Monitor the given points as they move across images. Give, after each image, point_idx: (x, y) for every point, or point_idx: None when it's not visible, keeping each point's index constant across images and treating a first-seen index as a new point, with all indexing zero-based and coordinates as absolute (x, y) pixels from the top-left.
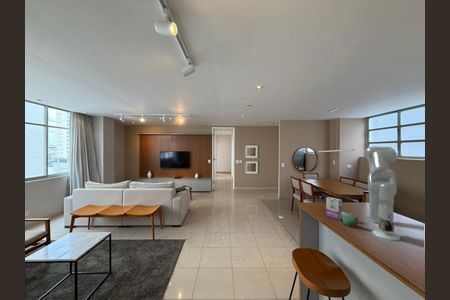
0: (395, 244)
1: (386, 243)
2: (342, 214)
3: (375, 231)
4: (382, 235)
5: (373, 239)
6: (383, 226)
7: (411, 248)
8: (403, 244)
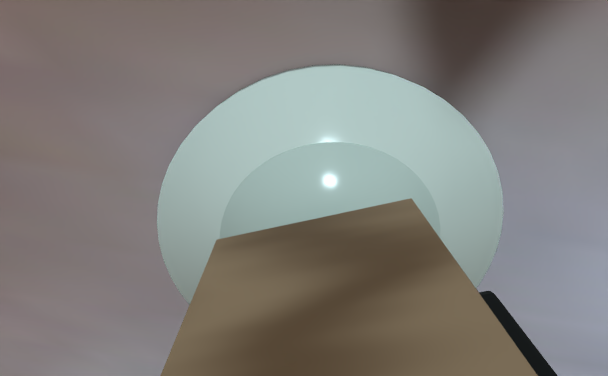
0: (74, 274)
1: (13, 189)
2: None
3: (364, 117)
4: (220, 193)
5: (16, 28)
6: (185, 331)
7: (87, 370)
8: (145, 336)
